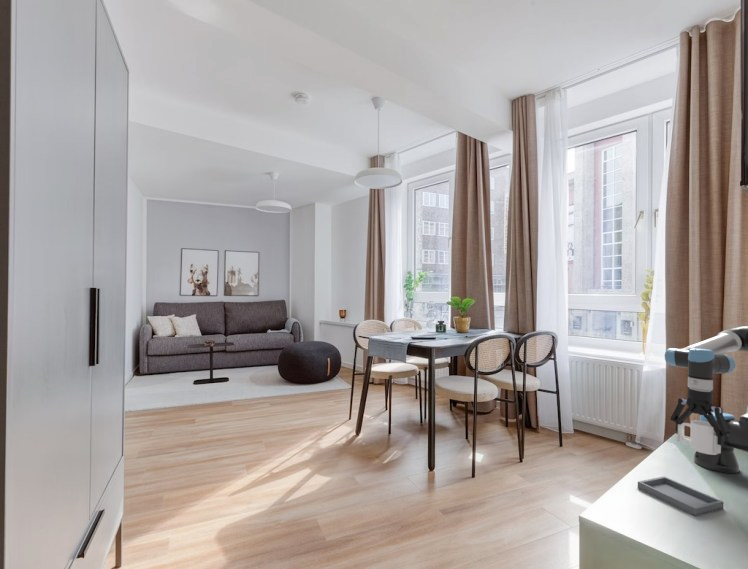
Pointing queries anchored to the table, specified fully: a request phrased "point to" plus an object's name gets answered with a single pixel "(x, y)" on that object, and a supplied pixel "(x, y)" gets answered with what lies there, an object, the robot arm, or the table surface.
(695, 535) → the table surface
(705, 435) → the cup
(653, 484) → the grey tray
